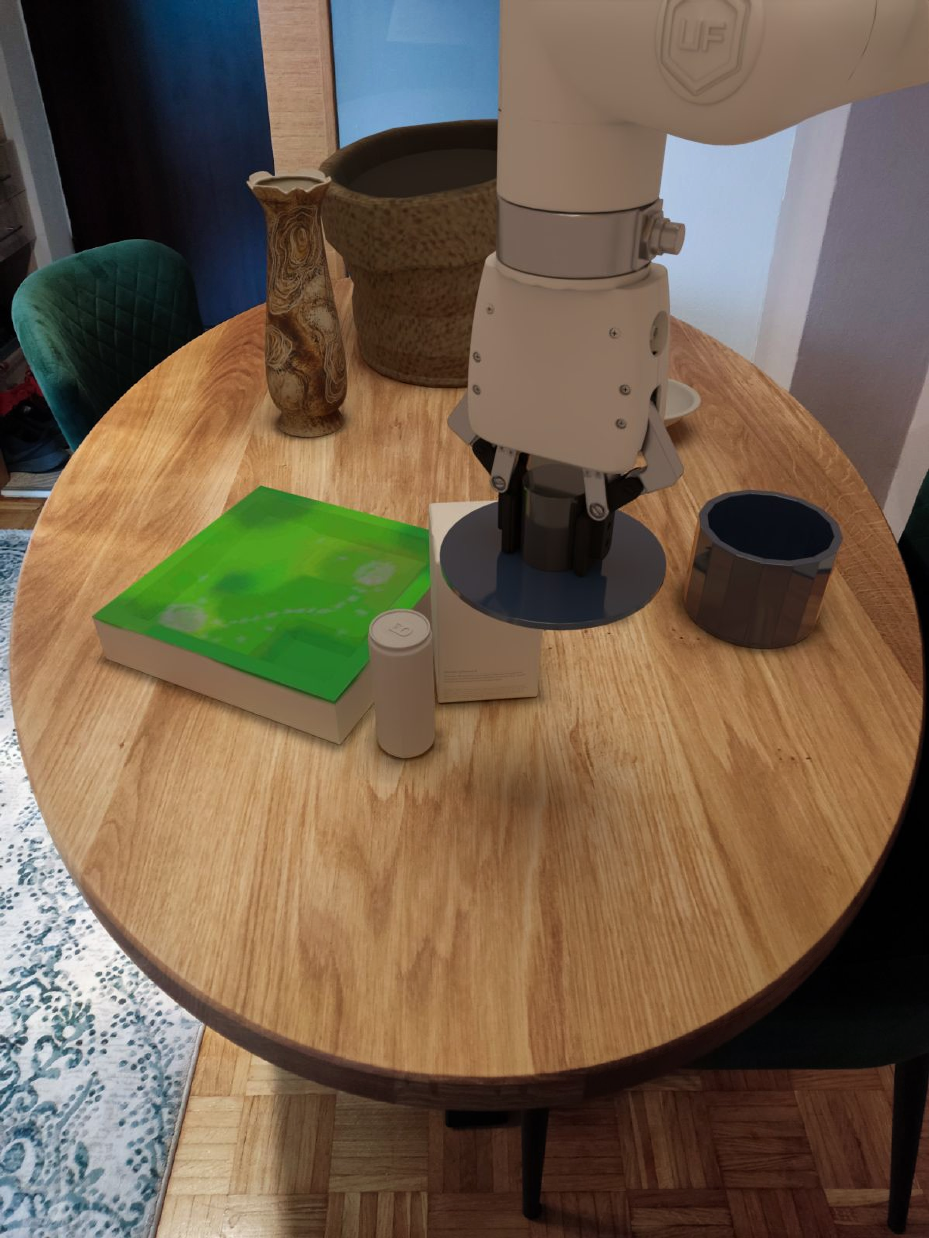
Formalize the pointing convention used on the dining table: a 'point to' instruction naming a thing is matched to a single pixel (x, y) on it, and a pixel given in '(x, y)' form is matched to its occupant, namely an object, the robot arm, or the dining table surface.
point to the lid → (551, 560)
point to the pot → (415, 242)
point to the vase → (300, 305)
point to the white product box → (475, 633)
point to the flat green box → (274, 609)
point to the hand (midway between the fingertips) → (552, 549)
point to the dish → (679, 401)
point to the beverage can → (402, 681)
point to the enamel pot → (760, 567)
